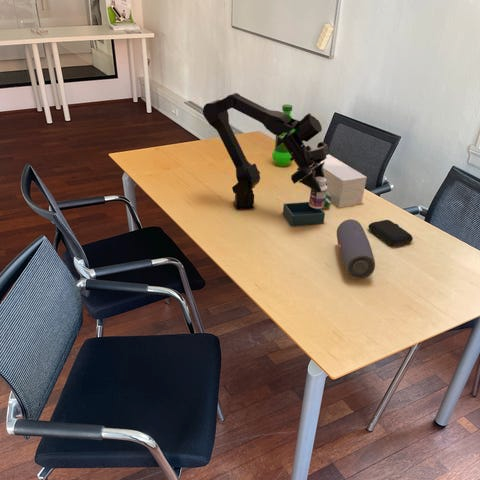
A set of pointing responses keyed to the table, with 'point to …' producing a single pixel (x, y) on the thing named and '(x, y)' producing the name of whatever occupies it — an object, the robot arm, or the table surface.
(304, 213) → the tray
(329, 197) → the gaming controller
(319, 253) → the table surface
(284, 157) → the plastic bottle
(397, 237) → the carrying case
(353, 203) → the long white box
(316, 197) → the pill bottle
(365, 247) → the bluetooth speaker
